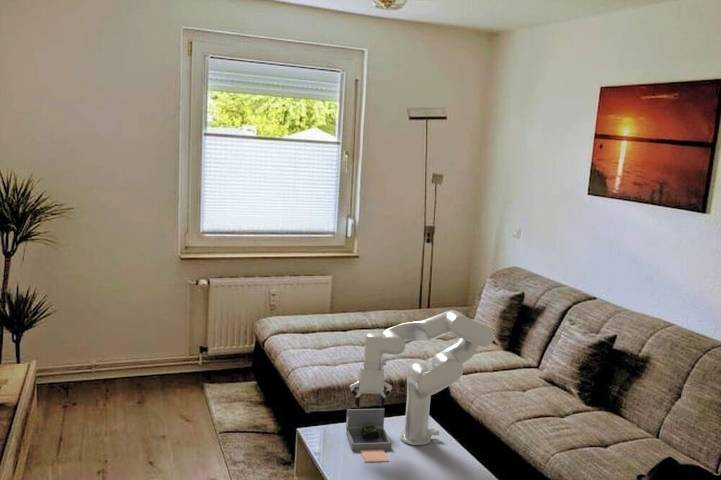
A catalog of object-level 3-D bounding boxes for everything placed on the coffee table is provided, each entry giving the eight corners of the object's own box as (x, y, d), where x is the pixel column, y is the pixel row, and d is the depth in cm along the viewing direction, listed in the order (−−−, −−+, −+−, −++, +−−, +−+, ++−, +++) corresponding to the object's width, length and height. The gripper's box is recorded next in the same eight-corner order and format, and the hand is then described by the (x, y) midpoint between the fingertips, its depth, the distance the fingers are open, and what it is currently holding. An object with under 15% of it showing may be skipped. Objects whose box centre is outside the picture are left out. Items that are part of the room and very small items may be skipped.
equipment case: (382, 432, 253) (384, 408, 252) (391, 449, 239) (392, 423, 238) (345, 433, 250) (347, 409, 249) (352, 450, 236) (353, 424, 235)
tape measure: (362, 442, 243) (363, 433, 242) (360, 433, 249) (360, 425, 249) (379, 441, 244) (379, 432, 243) (376, 432, 250) (376, 424, 250)
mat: (383, 450, 238) (383, 449, 238) (388, 461, 229) (388, 460, 229) (360, 451, 236) (360, 450, 236) (365, 462, 227) (365, 461, 227)
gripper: (391, 361, 245) (388, 402, 247) (349, 361, 242) (346, 402, 244) (396, 368, 238) (392, 410, 240) (353, 367, 235) (349, 410, 237)
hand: (369, 406), depth 242 cm, fingers open, 9 cm apart
